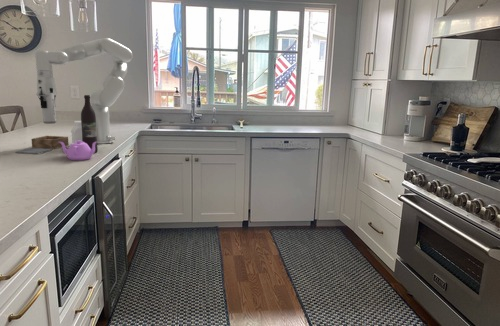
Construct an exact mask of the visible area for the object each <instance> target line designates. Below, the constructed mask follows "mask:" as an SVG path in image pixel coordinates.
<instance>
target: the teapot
mask: <svg viewBox="0 0 500 326" xmlns="http://www.w3.org/2000/svg"><path fill="white" fill-rule="evenodd" d="M76 142H77V143H72V142H71V143H70V146H68V148H66V147H67V146H65V144H64V143H63V142H59V143H61V145H62V147H61V148H62V151H63V153H64V154H65V155H66V157H67V158H68V160H70V161H85V160H89V159H91V158H92V156H93V155H94V154H95V153H94V152H95V144H96V143H97V142H98V141H97V142H94V143H93V144H92V149H90V147H89V146H88V145H87V143H85V142H81V141H80V140H79V141H76Z"/></svg>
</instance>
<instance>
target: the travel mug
mask: <svg viewBox="0 0 500 326" xmlns="http://www.w3.org/2000/svg"><path fill="white" fill-rule="evenodd" d="M42 95H44V94H42ZM42 97H43V98H44V96H42ZM46 101H47V108H41V110H42V120H43V124H46V125H49V124H56V123H57V117H56V115H57V114H56V102H55V103H54V94H53V88H50V95H49V96H46Z"/></svg>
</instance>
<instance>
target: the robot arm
mask: <svg viewBox="0 0 500 326" xmlns="http://www.w3.org/2000/svg"><path fill="white" fill-rule="evenodd" d="M34 54H35V55H34V58H35V66H36V76H37V77H36V86H37V87H36V89H37V92H36V96H37V97H38V99H39V101H40V102H39V103H40V108H41V109H42V108H47V101H46V96H49V95H50V88H53V94H54V103H55V104H56V97H57V95H58V94H57V93H58V92H57V86H56V80H55V78H54V72H53V66H64V65H67V63H70V62H75V61H82V60H88V59H91V58H94V57H98V56H102V55H105V54H107V55H108V54H109V55H111V59H112V63H113V65H112V68H111V70H110V71H109V73H107V75H106V76H105V78H104V79H103V81H102V82H101V83H102V84H101V85H102V88H103V89H102V90H101V89H98V90H94V91H93V92H92V93H91V95H90V104H91V106H92V108H93V110H94V112H95V115H96V131H97V141H98V142H97V145H98V144H99V145H101V144H111V143H114V141H117V137H116V136H113V134H111V121H110V118H111V117H110V109H109V107H111V106H114V103H116V101H117V100H118V98H119V97H120V96H121V94H122V93H123V91H124V89H125V81H124V79H125V78H126V75H127V74H128V63H129V62H131V61H132V60H133V52H132V51H131V49H130V48H128V47H127V46H125V45H123V44H121V43H119V42H117V41H116V40H113V38H112V39H111V38H109V37H104V38H99V39H94V40H90V41H87V42H82V43H79V44H76V45H73V46H69V47H66V48H62V49H58V50H54V51H50V50H45V49H44V50H40V49H39V50H36V51H34ZM42 94H44V95H42ZM42 96H44V98H43V97H42Z"/></svg>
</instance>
